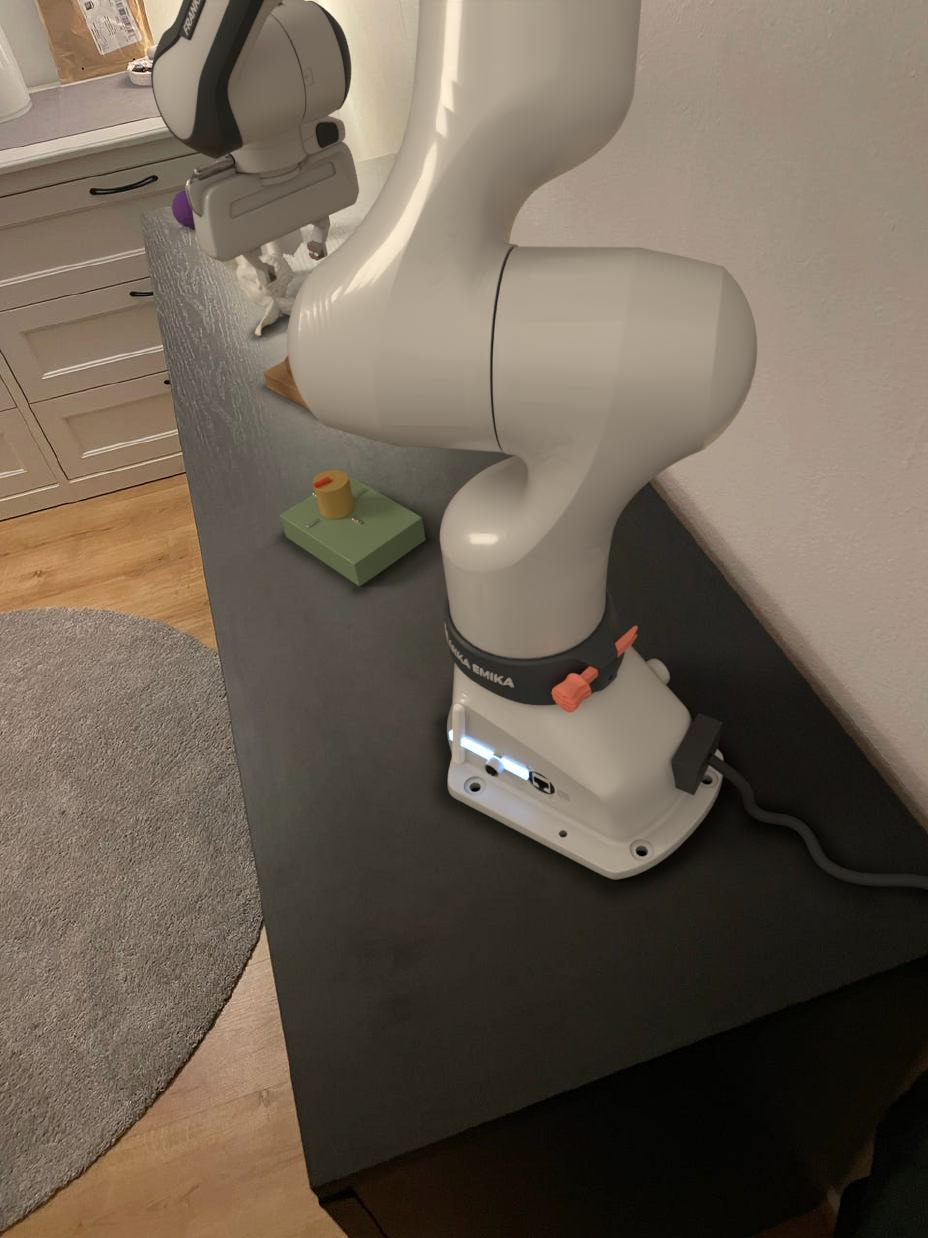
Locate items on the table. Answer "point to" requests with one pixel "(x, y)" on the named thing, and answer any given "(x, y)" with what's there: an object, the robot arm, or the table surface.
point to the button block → (283, 382)
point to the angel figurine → (276, 290)
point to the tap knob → (333, 494)
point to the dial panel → (356, 533)
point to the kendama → (183, 210)
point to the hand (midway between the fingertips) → (294, 269)
